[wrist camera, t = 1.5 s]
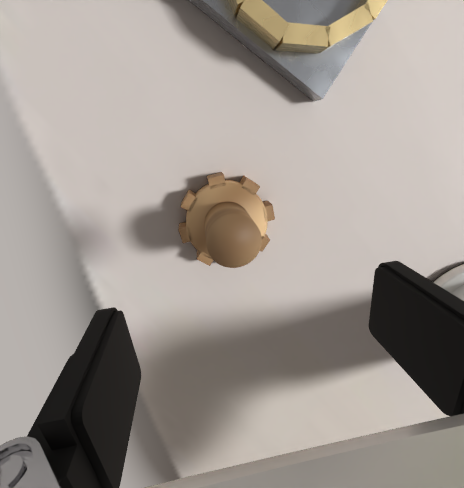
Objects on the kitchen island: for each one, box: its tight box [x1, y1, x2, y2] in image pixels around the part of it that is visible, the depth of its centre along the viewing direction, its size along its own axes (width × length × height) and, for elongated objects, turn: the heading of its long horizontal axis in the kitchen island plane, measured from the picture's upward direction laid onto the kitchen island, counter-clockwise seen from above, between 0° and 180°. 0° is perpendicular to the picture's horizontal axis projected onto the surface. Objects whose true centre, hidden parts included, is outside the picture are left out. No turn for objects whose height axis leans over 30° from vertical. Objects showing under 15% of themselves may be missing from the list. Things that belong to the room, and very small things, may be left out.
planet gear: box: [178, 172, 275, 268], centre depth 20 cm, size 8×8×6 cm
